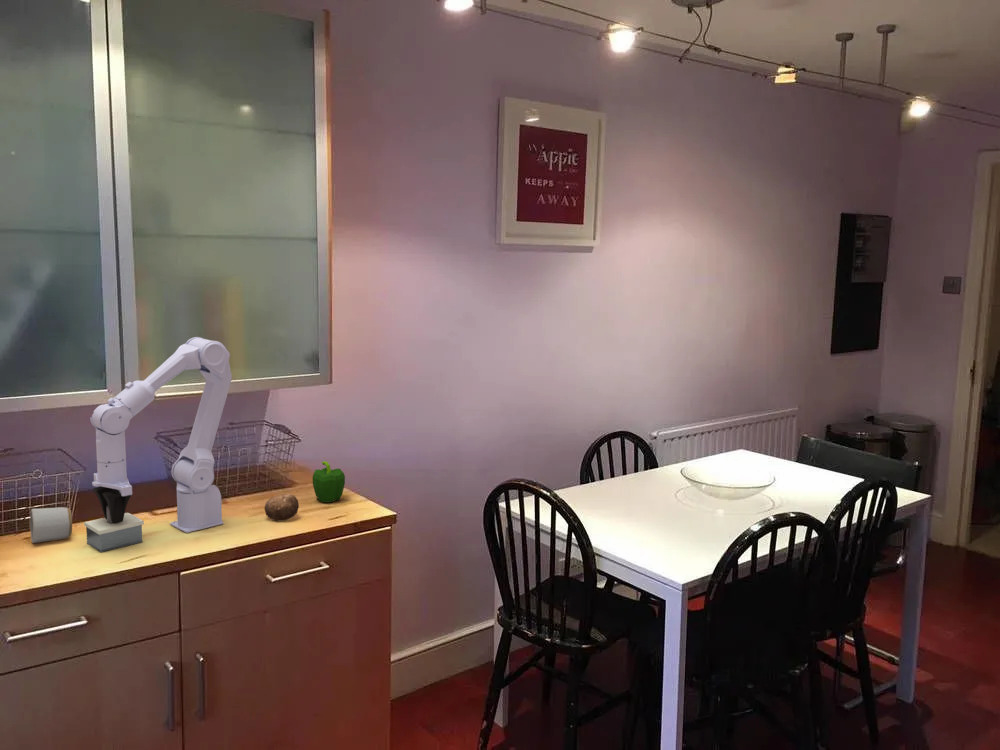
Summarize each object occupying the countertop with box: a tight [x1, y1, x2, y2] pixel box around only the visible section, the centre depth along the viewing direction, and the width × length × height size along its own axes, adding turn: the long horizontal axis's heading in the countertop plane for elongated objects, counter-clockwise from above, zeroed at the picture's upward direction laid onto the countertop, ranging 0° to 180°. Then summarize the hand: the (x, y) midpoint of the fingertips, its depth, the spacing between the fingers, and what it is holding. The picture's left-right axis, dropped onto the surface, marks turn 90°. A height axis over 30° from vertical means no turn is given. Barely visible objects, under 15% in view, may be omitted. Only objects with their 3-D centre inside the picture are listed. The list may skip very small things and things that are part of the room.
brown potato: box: [264, 493, 300, 522], centre depth 203 cm, size 8×8×6 cm
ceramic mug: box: [29, 506, 73, 544], centre depth 185 cm, size 10×8×7 cm
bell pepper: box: [312, 461, 346, 503], centre depth 217 cm, size 8×8×10 cm
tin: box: [85, 525, 143, 553], centre depth 183 cm, size 9×7×4 cm
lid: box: [83, 506, 145, 535], centre depth 182 cm, size 10×8×4 cm
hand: (114, 520), depth 182 cm, fingers closed on lid, 3 cm apart
